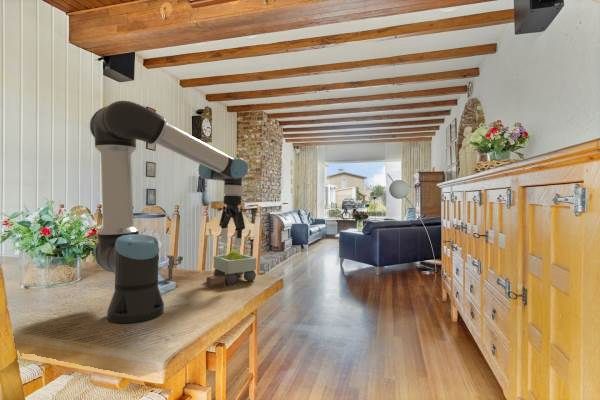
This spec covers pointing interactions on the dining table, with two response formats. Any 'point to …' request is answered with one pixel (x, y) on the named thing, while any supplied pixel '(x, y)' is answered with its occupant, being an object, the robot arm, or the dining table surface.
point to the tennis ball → (234, 255)
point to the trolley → (235, 268)
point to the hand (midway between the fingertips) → (230, 244)
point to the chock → (215, 281)
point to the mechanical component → (171, 263)
